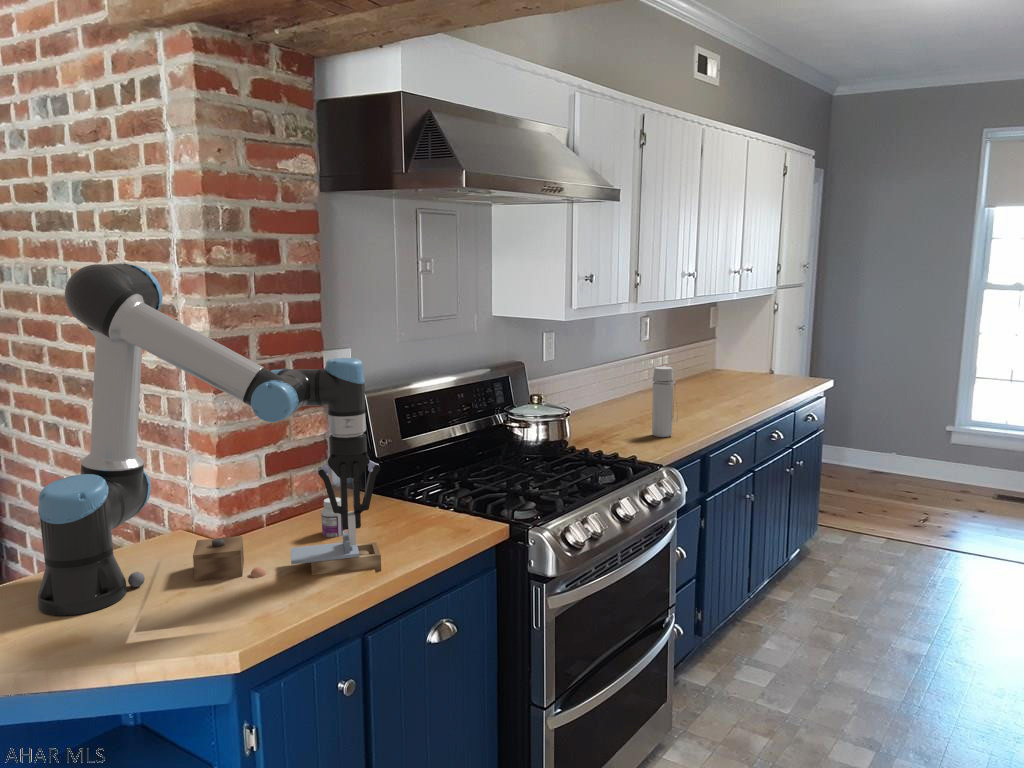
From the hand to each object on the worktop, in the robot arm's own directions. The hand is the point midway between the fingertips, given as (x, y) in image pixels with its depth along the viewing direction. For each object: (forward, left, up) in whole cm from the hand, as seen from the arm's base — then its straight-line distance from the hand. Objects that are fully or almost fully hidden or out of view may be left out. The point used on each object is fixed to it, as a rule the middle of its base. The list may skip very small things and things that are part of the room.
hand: (352, 543), depth 166 cm
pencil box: (-2, 0, -6) cm, 6 cm away
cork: (+2, 0, -5) cm, 6 cm away
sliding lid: (-6, 0, -2) cm, 6 cm away
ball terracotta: (-19, -1, -4) cm, 20 cm away
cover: (-27, +4, -6) cm, 28 cm away
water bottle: (+120, +93, -6) cm, 152 cm away
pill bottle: (-3, +20, -6) cm, 21 cm away
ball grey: (-43, +4, -4) cm, 43 cm away
